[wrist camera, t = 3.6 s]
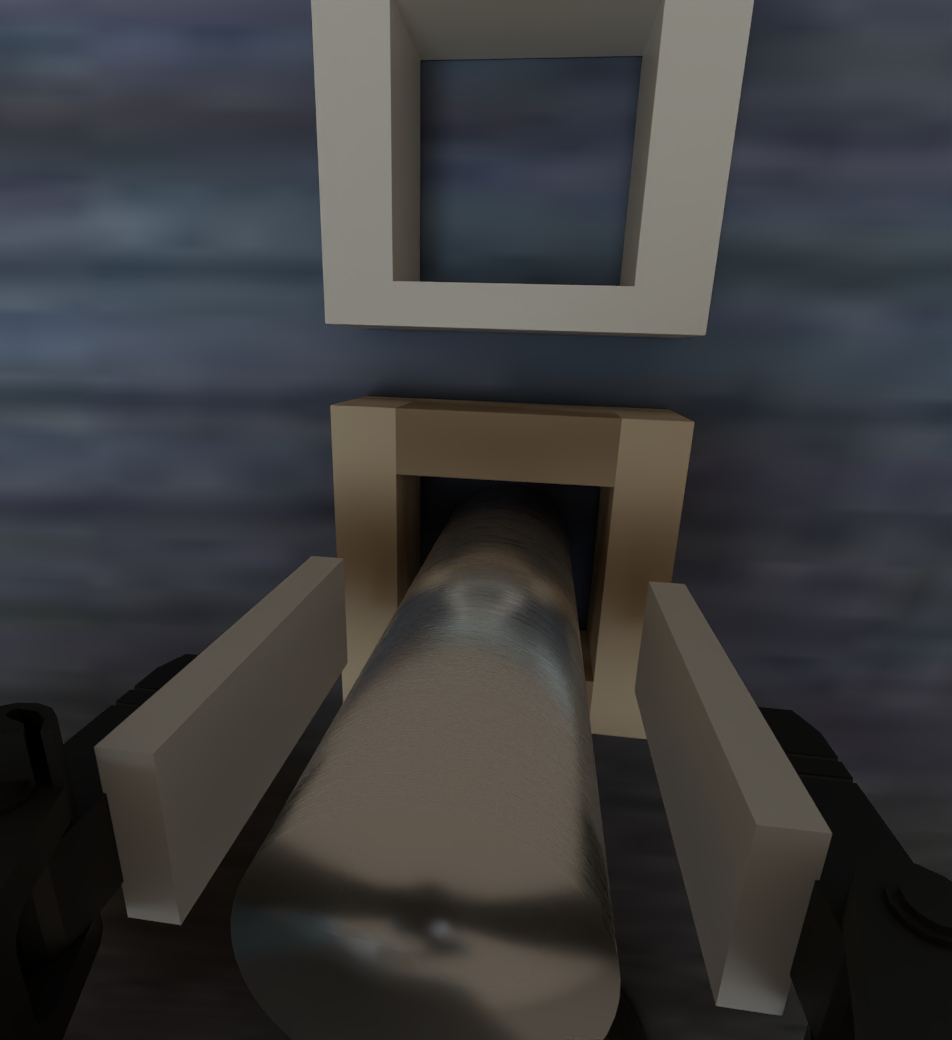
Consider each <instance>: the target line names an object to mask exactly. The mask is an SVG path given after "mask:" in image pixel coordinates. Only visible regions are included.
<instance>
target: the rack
mask: <svg viewBox="0 0 952 1040" xmlns="http://www.w3.org/2000/svg"><path fill="white" fill-rule="evenodd" d="M753 4H754V0H311V7H312V30H313V53H314V76H315V99H316V122H317V145H318V167H319V190H320V213H321V236H322V259H323V282H324V304H325V324H332V325H340V326H348V327H357V328H370V329H403V330H435V331H468V332H500V333H532V334H565V335H597V336H630V337H662V338H681V337H692V336H702V335H706V329H707V322H708V315H709V308H710V301H711V294H712V287H713V281H714V274H715V267H716V260H717V253H718V246H719V239H720V232H721V225H722V218H723V211H724V205H725V198H726V191H727V184H728V177H729V170H730V163H731V156H732V149H733V142H734V135H735V129H736V122H737V115H738V108H739V101H740V94H741V87H742V80H743V73H744V66H745V59H746V53H747V46H748V39H749V32H750V25H751V18H752V11H753ZM611 56H642V66H641V76H640V86H639V96H638V106H637V116H636V126H635V136H634V146H633V156H632V166H631V176H630V186H629V196H628V206H627V216H626V226H625V236H624V246H623V256H622V266H621V277H620V286H596V285H550V284H504V283H457V282H420V60H464V59H513V58H562V57H611Z"/></svg>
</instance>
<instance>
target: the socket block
mask: <svg viewBox="0 0 952 1040" xmlns="http://www.w3.org/2000/svg"><path fill="white" fill-rule="evenodd" d="M330 409H331V432H332V455H333V479H334V502H335V525H336V548H337V558H343V559H344V584H345V609H346V635H347V660H348V663H347V665H346V666H345V668H344V670H343V671H342V688H343V702H344V701H345V699H346V697H347V695H348V694H349V692H350V690H351V688H352V687H353V685H354V683H355V681H356V680H357V678H358V676H359V675H360V673H361V671H362V669H363V668H364V666H365V664H366V662H367V661H368V659H369V657H370V655H371V654H372V652H373V650H374V648H375V647H376V645H377V643H378V642H379V640H380V638H381V636H382V635H383V633H384V631H385V629H386V628H387V626H388V624H389V622H390V621H391V619H392V617H393V615H394V614H395V612H396V610H397V609H398V607H399V605H400V603H401V602H402V600H403V598H404V596H405V595H406V593H407V591H408V589H409V588H410V586H411V584H412V582H413V581H414V579H415V577H416V576H417V574H418V572H419V570H420V476H434V477H451V478H468V479H485V480H502V481H519V482H536V483H553V484H570V485H587V486H601V490H600V500H599V510H598V520H597V530H596V540H595V550H594V560H593V570H592V580H591V590H590V600H589V610H588V620H587V630H586V631H582V630H579V631H580V640H581V648H582V657H583V665H584V674H585V682H586V691H587V699H588V707H589V716H590V724H591V733H592V734H601V735H611V736H620V737H630V738H640V739H647V738H646V734H645V730H644V726H643V722H642V718H641V714H640V710H639V707H638V703H637V699H636V695H635V691H634V689H635V681H636V674H637V666H638V659H639V651H640V644H641V636H642V629H643V621H644V614H645V606H646V599H647V591H648V584H649V581H650V582H663V583H671V581H672V574H673V567H674V561H675V554H676V547H677V540H678V533H679V526H680V519H681V512H682V506H683V499H684V492H685V485H686V478H687V471H688V464H689V458H690V451H691V444H692V437H693V430H694V423H695V422H694V421H692V420H690V419H687V418H685V417H683V416H681V415H679V414H677V413H675V412H673V411H671V410H669V409H648V408H626V407H603V406H580V405H557V404H534V403H512V402H489V401H466V400H443V399H420V398H398V397H375V396H365V397H361V398H357V399H353V400H349V401H345V402H341V403H337V404H333V405H330Z"/></svg>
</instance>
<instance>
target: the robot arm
mask: <svg viewBox="0 0 952 1040" xmlns="http://www.w3.org/2000/svg"><path fill="white" fill-rule="evenodd" d="M347 663H348V660H347V635H346V609H345V584H344V559H343V558H331V557H318V556H311V557H310V558H309V559H308V560H307V561H306V562H304V563H303V564H302V565H301V566H300V567H299V568H298V569H296V570H295V571H294V572H293V573H292V574H291V575H290V576H288V577H287V578H286V579H285V580H284V581H283V582H282V583H280V584H279V585H278V586H277V587H276V588H275V589H274V590H272V591H271V592H270V593H269V594H268V595H267V596H266V597H264V598H263V599H262V600H261V601H260V602H259V603H258V604H256V605H255V606H254V607H253V608H252V609H251V610H250V611H248V612H247V613H246V614H245V615H244V616H243V617H242V618H240V619H239V620H238V621H237V622H236V623H235V624H234V625H233V626H231V627H230V628H229V629H228V630H227V631H226V632H225V633H223V634H222V635H221V636H220V637H219V638H218V639H217V640H215V641H214V642H213V643H212V644H211V645H210V646H209V647H207V648H206V649H205V650H204V651H203V652H202V653H201V654H199V655H190V654H185V655H183V656H181V657H179V658H177V659H175V660H173V661H171V662H169V663H166V664H164V665H162V666H160V667H158V668H156V669H155V670H154V671H153V672H151V673H150V674H149V675H148V676H147V677H145V678H144V679H143V680H142V681H140V682H139V683H138V684H137V685H136V686H135V688H134V690H129V691H128V692H127V693H126V694H125V695H123V696H122V697H121V698H120V699H118V700H117V701H116V705H115V706H114V705H111V706H110V707H109V708H107V709H106V710H105V711H104V712H102V713H101V714H100V715H99V716H98V717H96V718H95V719H94V720H93V721H91V722H90V723H89V724H88V725H87V726H85V727H84V728H83V729H82V730H80V731H79V732H78V733H77V734H75V735H74V736H73V737H72V738H71V739H69V740H68V741H67V742H66V743H64V744H63V742H62V738H61V733H60V729H59V724H58V719H57V716H56V714H55V713H54V711H53V709H52V708H50V707H48V706H45V705H42V704H39V703H14V704H8V705H3V706H0V1040H62V1039H63V1037H64V1034H65V1032H66V1029H67V1027H68V1024H69V1022H70V1019H71V1017H72V1014H73V1012H74V1009H75V1007H76V1004H77V1002H78V999H79V997H80V994H81V991H82V989H83V986H84V984H85V981H86V979H87V976H88V974H89V971H90V969H91V966H92V964H93V961H94V959H95V956H96V954H97V951H98V949H99V946H100V942H101V936H102V931H103V925H102V921H101V916H100V911H101V909H102V908H103V907H104V906H105V904H106V903H107V902H108V900H109V899H110V898H111V897H112V895H113V894H114V893H115V892H116V890H117V889H118V888H119V887H120V885H122V890H123V895H124V900H125V905H126V910H127V915H128V917H130V918H136V919H143V920H150V921H156V922H163V923H170V924H176V925H181V924H182V923H183V921H184V920H185V918H186V916H187V915H188V913H189V912H190V910H191V909H192V907H193V905H194V904H195V902H196V901H197V899H198V898H199V896H200V894H201V893H202V891H203V890H204V888H205V887H206V885H207V883H208V882H209V880H210V879H211V877H212V876H213V874H214V872H215V871H216V869H217V868H218V866H219V865H220V863H221V861H222V860H223V858H224V857H225V855H226V854H227V852H228V850H229V849H230V847H231V846H232V844H233V843H234V841H235V839H236V838H237V836H238V835H239V833H240V832H241V830H242V828H243V827H244V825H245V824H246V822H247V821H248V819H249V817H250V816H251V814H252V813H253V811H254V810H255V808H256V806H257V805H258V803H259V802H260V800H261V799H262V797H263V795H264V794H265V792H266V791H267V789H268V787H269V786H270V784H271V783H272V781H273V780H274V778H275V776H276V775H277V773H278V772H279V770H280V769H281V767H282V765H283V764H284V762H285V761H286V759H287V758H288V756H289V754H290V753H291V751H292V750H293V748H294V747H295V745H296V743H297V742H298V740H299V739H300V737H301V736H302V734H303V732H304V731H305V729H306V728H307V726H308V725H309V723H310V721H311V720H312V718H313V717H314V715H315V714H316V712H317V710H318V709H319V707H320V706H321V704H322V703H323V701H324V699H325V698H326V696H327V695H328V693H329V692H330V690H331V688H332V687H333V685H334V684H335V682H336V681H337V679H338V677H339V676H340V674H341V673H342V671H343V670H344V668H345V666H346V665H347ZM634 691H635V695H636V699H637V703H638V707H639V710H640V714H641V718H642V722H643V726H644V730H645V734H646V738H647V741H648V745H649V749H650V753H651V757H652V761H653V765H654V769H655V772H656V776H657V780H658V784H659V788H660V792H661V796H662V800H663V803H664V807H665V811H666V815H667V819H668V823H669V827H670V830H671V834H672V838H673V842H674V846H675V850H676V854H677V858H678V861H679V865H680V869H681V873H682V877H683V881H684V885H685V889H686V892H687V896H688V900H689V904H690V908H691V912H692V916H693V919H694V923H695V927H696V931H697V935H698V939H699V943H700V947H701V950H702V954H703V958H704V962H705V966H706V970H707V974H708V978H709V981H710V985H711V989H712V993H713V997H714V1001H715V1005H716V1006H720V1007H727V1008H733V1009H740V1010H747V1011H753V1012H760V1013H767V1014H773V1015H780V1016H782V1014H783V1011H784V1007H785V1004H786V1000H787V996H788V993H789V989H790V985H791V982H793V985H794V987H795V990H796V992H797V995H798V997H799V1000H800V1003H801V1005H802V1008H803V1010H804V1013H805V1015H806V1018H807V1021H808V1023H809V1024H808V1027H807V1030H806V1034H805V1037H804V1040H952V882H951V881H950V880H948V879H947V878H946V877H944V876H942V875H939V874H937V873H935V872H933V871H931V870H928V869H926V868H924V867H922V866H920V865H917V864H915V863H913V861H912V860H911V859H910V857H909V856H908V854H907V853H906V852H905V850H904V849H903V847H902V846H901V845H900V843H899V842H898V840H897V839H896V838H895V836H894V835H893V834H892V832H891V831H890V829H889V828H888V827H887V825H886V824H885V822H884V821H883V820H882V818H881V817H880V815H879V814H878V813H877V811H876V810H875V808H874V807H873V806H872V804H871V803H870V801H869V800H868V799H867V797H866V796H865V794H864V793H863V792H862V790H861V789H860V787H859V786H858V785H857V783H853V778H852V776H851V775H850V773H849V772H848V771H847V769H846V768H845V766H844V765H843V764H842V762H838V757H837V755H836V754H835V753H834V751H833V750H832V748H831V747H830V746H829V744H828V743H827V741H826V740H825V739H824V737H823V736H822V734H821V733H820V732H819V731H818V730H816V729H815V728H814V727H813V726H811V725H810V724H809V723H807V722H806V721H805V720H804V719H802V718H801V717H800V716H798V715H797V714H796V713H795V712H793V711H792V710H782V709H772V708H761V707H757V705H756V704H755V702H754V700H753V698H752V697H751V695H750V693H749V692H748V690H747V688H746V687H745V685H744V683H743V682H742V680H741V678H740V677H739V675H738V673H737V671H736V670H735V668H734V666H733V665H732V663H731V661H730V660H729V658H728V656H727V655H726V653H725V651H724V649H723V648H722V646H721V644H720V643H719V641H718V639H717V638H716V636H715V634H714V633H713V631H712V629H711V628H710V626H709V624H708V622H707V621H706V619H705V617H704V616H703V614H702V612H701V611H700V609H699V607H698V606H697V604H696V602H695V600H694V599H693V597H692V595H691V594H690V592H689V590H688V589H687V587H686V585H685V584H677V583H663V582H650V581H649V584H648V591H647V599H646V606H645V614H644V621H643V629H642V636H641V644H640V651H639V659H638V666H637V674H636V681H635V689H634ZM291 1040H292V1039H291ZM603 1040H646V1039H645V1035H644V1032H643V1029H642V1026H641V1024H640V1021H639V1019H638V1017H637V1015H636V1013H635V1011H634V1010H633V1008H632V1006H631V1005H630V1003H629V1002H628V1000H627V999H626V998H625V996H624V995H623V994H622V992H621V991H620V999H619V1003H618V1007H617V1011H616V1015H615V1018H614V1020H613V1022H612V1025H611V1027H610V1029H609V1031H608V1033H607V1035H606V1036H605V1038H604V1039H603Z"/></svg>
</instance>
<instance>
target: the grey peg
mask: <svg viewBox="0 0 952 1040" xmlns="http://www.w3.org/2000/svg"><path fill="white" fill-rule="evenodd" d="M230 924H231V941H232V946H233V951H234V955H235V959H236V962H237V965H238V967H239V970H240V973H241V975H242V977H243V979H244V981H245V983H246V985H247V987H248V989H249V991H250V992H251V994H252V996H253V997H254V998H255V1000H256V1001H257V1003H258V1004H259V1005H260V1007H261V1008H262V1010H263V1011H264V1012H265V1013H266V1014H267V1015H268V1017H269V1018H270V1019H271V1020H272V1021H273V1022H274V1023H275V1024H276V1026H277V1027H278V1028H280V1029H281V1030H282V1031H283V1032H284V1033H285V1034H286V1035H287V1036H288V1037H289V1038H290V1039H292V1040H603V1039H604V1038H605V1036H606V1035H607V1033H608V1031H609V1029H610V1027H611V1025H612V1022H613V1020H614V1018H615V1015H616V1011H617V1007H618V1003H619V999H620V982H621V978H620V970H619V961H618V953H617V944H616V936H615V928H614V919H613V911H612V902H611V894H610V885H609V877H608V868H607V860H606V851H605V843H604V834H603V826H602V818H601V809H600V801H599V792H598V784H597V775H596V767H595V758H594V750H593V741H592V733H591V724H590V716H589V707H588V699H587V691H586V682H585V674H584V665H583V657H582V648H581V640H580V631H579V623H578V614H577V606H576V597H575V589H574V581H573V572H572V564H571V555H570V547H569V538H568V532H567V528H566V525H565V523H564V521H563V518H562V517H561V515H560V513H559V512H558V510H557V509H556V508H555V507H554V505H553V504H552V503H551V502H550V501H548V500H547V499H546V498H545V497H543V496H542V495H541V494H539V493H537V492H535V491H533V490H531V489H528V488H526V487H522V486H518V485H511V484H499V485H492V486H488V487H485V488H482V489H480V490H477V491H475V492H474V493H472V494H470V495H469V496H468V497H466V498H465V499H464V500H463V501H462V502H461V503H460V504H459V505H458V506H457V507H456V509H455V510H454V511H453V513H452V515H451V516H450V518H449V520H448V522H447V523H446V525H445V527H444V529H443V530H442V532H441V534H440V536H439V537H438V539H437V541H436V543H435V544H434V546H433V548H432V549H431V551H430V553H429V555H428V556H427V558H426V560H425V562H424V563H423V565H422V567H421V569H420V570H419V572H418V574H417V576H416V577H415V579H414V581H413V582H412V584H411V586H410V588H409V589H408V591H407V593H406V595H405V596H404V598H403V600H402V602H401V603H400V605H399V607H398V609H397V610H396V612H395V614H394V615H393V617H392V619H391V621H390V622H389V624H388V626H387V628H386V629H385V631H384V633H383V635H382V636H381V638H380V640H379V642H378V643H377V645H376V647H375V648H374V650H373V652H372V654H371V655H370V657H369V659H368V661H367V662H366V664H365V666H364V668H363V669H362V671H361V673H360V675H359V676H358V678H357V680H356V681H355V683H354V685H353V687H352V688H351V690H350V692H349V694H348V695H347V697H346V699H345V701H344V702H343V704H342V706H341V708H340V709H339V711H338V713H337V714H336V716H335V718H334V720H333V721H332V723H331V725H330V727H329V728H328V730H327V732H326V734H325V735H324V737H323V739H322V741H321V742H320V744H319V746H318V747H317V749H316V751H315V753H314V754H313V756H312V758H311V760H310V761H309V763H308V765H307V767H306V768H305V770H304V772H303V774H302V775H301V777H300V779H299V780H298V782H297V784H296V786H295V787H294V789H293V791H292V793H291V794H290V796H289V798H288V800H287V801H286V803H285V805H284V807H283V808H282V810H281V812H280V813H279V815H278V817H277V819H276V820H275V822H274V824H273V826H272V827H271V829H270V831H269V833H268V834H267V836H266V838H265V840H264V841H263V843H262V845H261V846H260V848H259V850H258V852H257V853H256V855H255V857H254V859H253V860H252V862H251V864H250V866H249V867H248V869H247V871H246V873H245V875H244V876H243V878H242V880H241V882H240V884H239V886H238V889H237V892H236V895H235V898H234V901H233V905H232V913H231V921H230Z"/></svg>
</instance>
